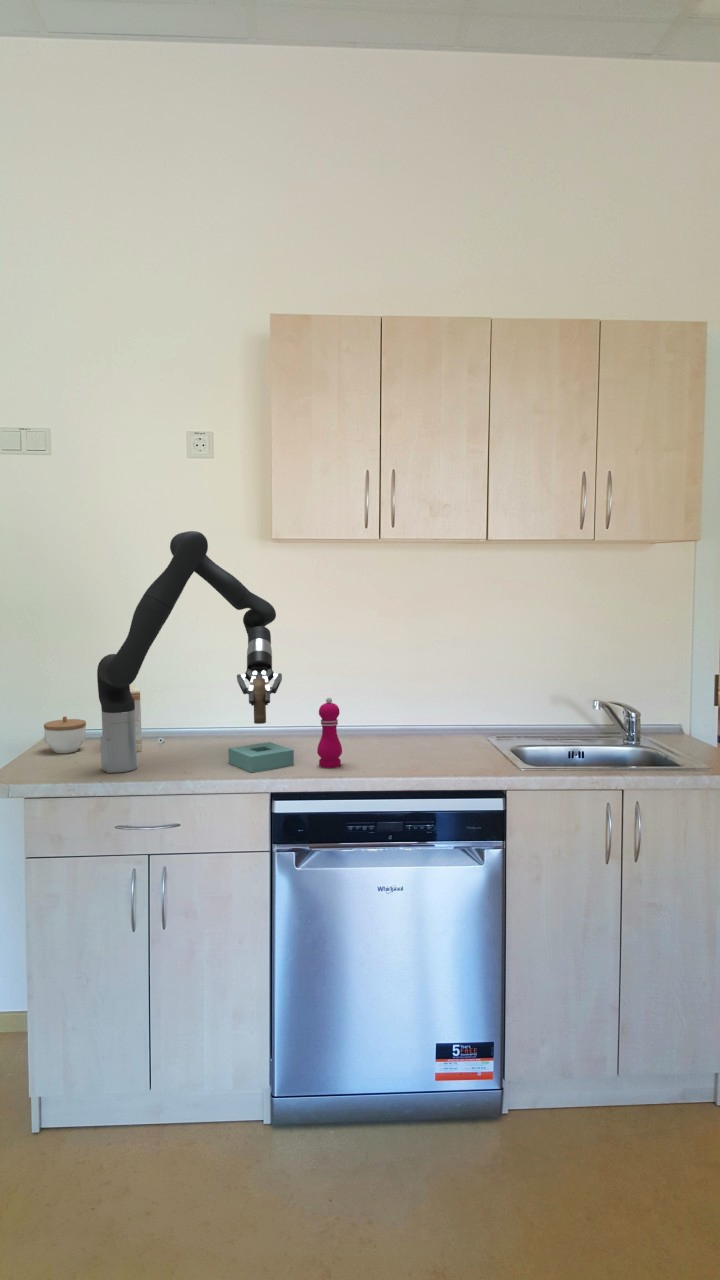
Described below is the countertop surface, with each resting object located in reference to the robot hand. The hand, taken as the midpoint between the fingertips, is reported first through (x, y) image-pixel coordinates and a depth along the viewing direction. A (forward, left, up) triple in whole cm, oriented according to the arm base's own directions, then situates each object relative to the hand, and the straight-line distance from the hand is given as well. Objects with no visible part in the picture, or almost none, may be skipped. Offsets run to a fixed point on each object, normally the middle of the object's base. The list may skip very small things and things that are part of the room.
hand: (259, 703), depth 235 cm
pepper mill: (+16, -12, -19) cm, 27 cm away
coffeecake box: (-22, +48, -19) cm, 56 cm away
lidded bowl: (-40, +56, -19) cm, 71 cm away
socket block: (+1, +2, -18) cm, 18 cm away
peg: (+1, +2, -6) cm, 6 cm away
